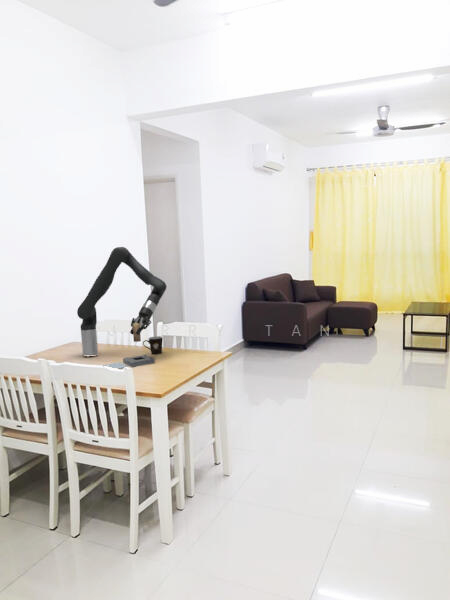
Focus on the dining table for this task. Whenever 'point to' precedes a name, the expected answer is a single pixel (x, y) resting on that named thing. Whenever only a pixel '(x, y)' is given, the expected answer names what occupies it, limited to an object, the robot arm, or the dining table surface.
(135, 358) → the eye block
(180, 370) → the dining table surface
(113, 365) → the slate pad
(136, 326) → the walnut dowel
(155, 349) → the coffee mug
